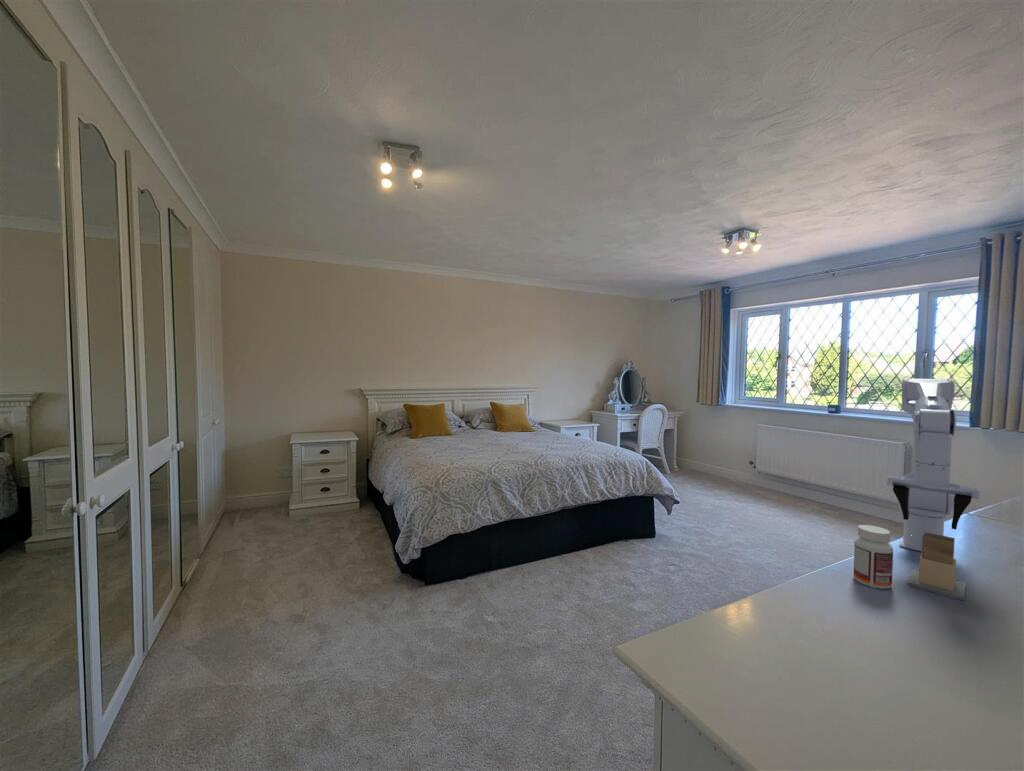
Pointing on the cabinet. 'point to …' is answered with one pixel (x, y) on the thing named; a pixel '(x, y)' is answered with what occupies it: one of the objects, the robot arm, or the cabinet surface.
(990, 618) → the cabinet surface
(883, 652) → the cabinet surface
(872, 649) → the cabinet surface
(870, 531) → the pill bottle
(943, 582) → the tower base
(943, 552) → the walnut block
